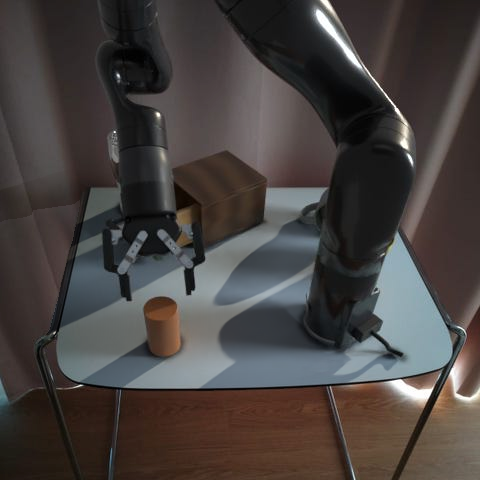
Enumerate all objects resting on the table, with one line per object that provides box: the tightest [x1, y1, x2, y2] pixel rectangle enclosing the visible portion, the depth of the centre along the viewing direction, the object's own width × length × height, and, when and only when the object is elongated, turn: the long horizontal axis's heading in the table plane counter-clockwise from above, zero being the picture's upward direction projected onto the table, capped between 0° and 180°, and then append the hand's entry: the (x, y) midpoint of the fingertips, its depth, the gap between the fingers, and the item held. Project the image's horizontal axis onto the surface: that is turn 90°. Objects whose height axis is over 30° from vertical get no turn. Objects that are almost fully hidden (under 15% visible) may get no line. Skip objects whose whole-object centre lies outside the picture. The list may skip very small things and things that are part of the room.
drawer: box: [104, 185, 200, 262], centre depth 89 cm, size 18×11×8 cm, turn 127°
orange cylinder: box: [142, 295, 181, 358], centre depth 72 cm, size 5×5×8 cm
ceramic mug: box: [299, 187, 329, 233], centre depth 95 cm, size 11×8×8 cm
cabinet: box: [172, 149, 268, 249], centre depth 94 cm, size 15×13×10 cm
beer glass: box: [106, 129, 123, 213], centre depth 94 cm, size 7×7×15 cm
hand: (159, 298), depth 71 cm, fingers open, 8 cm apart
